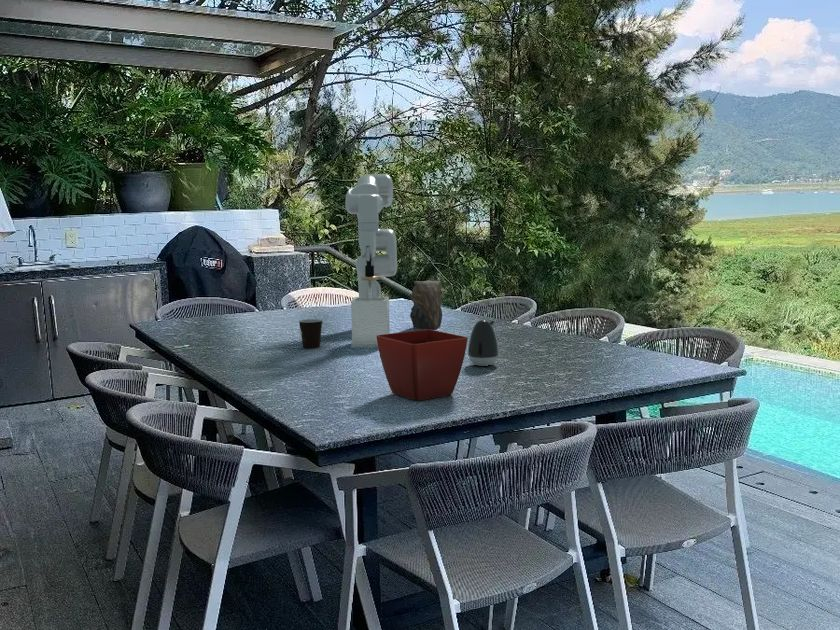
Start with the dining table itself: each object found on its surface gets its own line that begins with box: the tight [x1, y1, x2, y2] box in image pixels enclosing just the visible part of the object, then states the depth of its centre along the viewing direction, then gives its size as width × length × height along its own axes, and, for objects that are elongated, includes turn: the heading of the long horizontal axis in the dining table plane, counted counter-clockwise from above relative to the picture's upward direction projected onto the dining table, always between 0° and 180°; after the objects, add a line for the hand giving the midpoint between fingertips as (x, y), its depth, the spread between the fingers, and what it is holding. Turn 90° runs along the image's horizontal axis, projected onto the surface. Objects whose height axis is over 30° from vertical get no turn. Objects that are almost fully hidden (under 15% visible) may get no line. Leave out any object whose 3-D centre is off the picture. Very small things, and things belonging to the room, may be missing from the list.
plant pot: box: [377, 329, 469, 402], centre depth 242 cm, size 19×19×17 cm
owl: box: [409, 279, 443, 331], centre depth 370 cm, size 13×13×20 cm
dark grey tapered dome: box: [467, 319, 500, 367], centre depth 284 cm, size 10×10×15 cm
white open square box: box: [350, 296, 391, 349], centre depth 327 cm, size 14×14×18 cm
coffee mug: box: [298, 318, 323, 350], centre depth 326 cm, size 12×9×10 cm
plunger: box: [361, 276, 380, 301], centre depth 326 cm, size 10×10×17 cm
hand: (369, 276), depth 325 cm, fingers closed
